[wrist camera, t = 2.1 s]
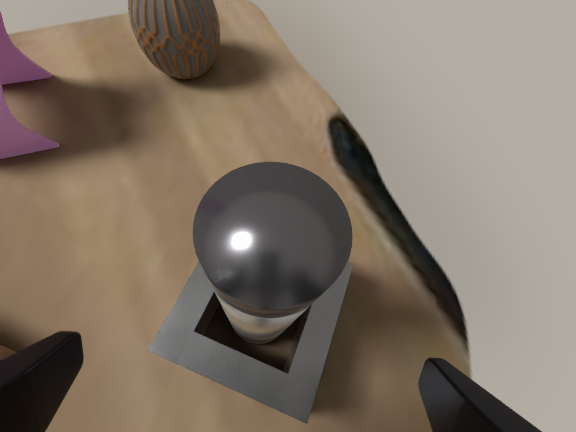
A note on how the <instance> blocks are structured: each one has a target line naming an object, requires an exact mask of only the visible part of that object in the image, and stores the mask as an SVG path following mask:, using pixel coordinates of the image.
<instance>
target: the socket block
mask: <svg viewBox="0 0 576 432" xmlns="http://www.w3.org/2000/svg"><path fill="white" fill-rule="evenodd" d="M352 268H353V264H351V263H348V262H347V264H346V266H345V268H344V270H343V271H342V273H341V275H340V276H339V277H338V279H337V280H336V281H335V282H334V283H333V284H332V285H331V286H330V287H329V288H328V289H327V290H326V291H325V292H324V293H323V294H322V295H321V296H320V297H319V298H318V299H317V300H316V301H315V302H314V303H313V304H311V305H310V306H309V307H308V308H307V309H306V310H305V311H304V312H303V314H302V317H301V320H300V323H299V326H298V328H297V331H296V334H295V337H294V340H293V343H292V345H291V348H290V351H289V354H288V357H287V360H286V363H285V365H284V368H283V371H280V370H278V369H276V368H274V367H271V366H269V365H267V364H265V363H263V362H260V361H258V360H256V359H254V358H251V357H249V356H247V355H245V354H243V353H240V352H238V351H236V350H234V349H231V348H229V347H227V346H225V345H222V344H220V343H218V342H216V341H214V340H211V339H209V338H207V337H205V336H203V335H204V333H205V331H206V329H207V327H208V325H209V323H210V321H211V319H212V317H213V315H214V313H215V311H216V309H217V307H218V305H219V303H220V301H219V299H218V297H217V296H216V294H215V292H214V290H213V288H212V286H211V284H210V282H209V280H208V278H207V276H206V274H205V272H204V270H203V268H202V266H201V264H200V262H198V264H197V266H196V268H195V269H194V271H193V273H192V274H191V276H190V278H189V280H188V281H187V283H186V285H185V287H184V288H183V290H182V292H181V294H180V295H179V297H178V299H177V300H176V302H175V304H174V306H173V307H172V309H171V311H170V313H169V314H168V316H167V318H166V320H165V321H164V323H163V325H162V327H161V328H160V330H159V332H158V333H157V335H156V337H155V339H154V340H153V342H152V344H151V346H150V347H149V349H148V351H150V352H152V353H154V354H156V355H159V356H161V357H163V358H165V359H167V360H170V361H172V362H174V363H176V364H178V365H180V366H183V367H185V368H187V369H189V370H191V371H193V372H196V373H198V374H200V375H202V376H204V377H206V378H209V379H211V380H213V381H215V382H217V383H220V384H222V385H224V386H226V387H228V388H230V389H233V390H235V391H237V392H239V393H241V394H243V395H246V396H248V397H250V398H252V399H254V400H256V401H259V402H261V403H263V404H265V405H267V406H270V407H272V408H274V409H276V410H278V411H280V412H283V413H285V414H287V415H289V416H291V417H293V418H296V419H298V420H300V421H302V422H304V423H306V424H307V422H308V419H309V416H310V412H311V409H312V405H313V402H314V398H315V395H316V391H317V388H318V385H319V381H320V378H321V374H322V371H323V367H324V364H325V360H326V357H327V354H328V350H329V347H330V343H331V340H332V336H333V333H334V329H335V326H336V323H337V319H338V316H339V312H340V309H341V305H342V302H343V299H344V295H345V292H346V288H347V285H348V281H349V278H350V274H351V271H352Z"/></svg>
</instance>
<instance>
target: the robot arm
mask: <svg viewBox="0 0 576 432" xmlns="http://www.w3.org/2000/svg"><path fill="white" fill-rule="evenodd" d="M82 364H83V348H82V340H81V335H80V334H79V333H78V332H73V331H59V332H57V333H55V334H53V335H51V336H49V337H47V338H45V339H43V340H41V341H39V342H37V343H35V344H33V345H31V346H29V347H26V348H24V349H22V350H20V351H18V352H16V353H14V354H12V355H10V356H8V357H6V358H4V359H2V360H0V432H45V431H46V429H47V428H48V426H49V424H50V423H51V421H52V419H53V417H54V415H55V414H56V412H57V410H58V408H59V406H60V405H61V403H62V401H63V399H64V398H65V396H66V394H67V392H68V390H69V389H70V387H71V385H72V383H73V381H74V380H75V378H76V376H77V374H78V373H79V371H80V369H81V367H82ZM418 384H419V391H420V394H421V397H422V400H423V403H424V406H425V409H426V413H427V416H428V419H429V422H430V425H431V428H432V431H433V432H542V431H540V430H539V429H537V428H536V427H535V426H533V425H532V424H531V423H529V422H528V421H527V420H525V419H524V418H523V417H521V416H520V415H519V414H517V413H516V412H515V411H513V410H512V409H510V408H509V407H508V406H506V405H505V404H504V403H502V402H501V401H500V400H498V399H497V398H496V397H494V396H493V395H492V394H490V393H489V392H487V391H486V390H485V389H483V388H482V387H481V386H479V385H478V384H477V383H475V382H474V381H473V380H471V379H470V378H469V377H467V376H466V375H465V374H463V373H462V372H461V371H459V370H458V369H457V368H455V367H454V366H452V365H451V364H450V363H448V362H447V361H446V360H444V359H441V358H428V359H427V360H426V361H425V363H424V366H423V369H422V372H421V375H420V378H419V383H418Z"/></svg>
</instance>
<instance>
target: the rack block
mask: <svg viewBox="0 0 576 432" xmlns="http://www.w3.org/2000/svg"><path fill="white" fill-rule="evenodd" d="M14 353H16V352H15V351H13V350H11V349H8V348H6V347H4V346H2V345H0V360H2V359H4V358H6V357H8V356H10V355H12V354H14Z"/></svg>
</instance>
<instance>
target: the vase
mask: <svg viewBox="0 0 576 432" xmlns="http://www.w3.org/2000/svg"><path fill="white" fill-rule="evenodd" d="M128 7H129V8H128V9H129V17H130V22H131V26H132V29H133V32H134V35H135V37H136V39H137V42H138V44H139V46H140V48H141V49H142V51H143V52H144V54H145V55H146V57H147V58H148V59H149V60H150V62H151V63H152V64H153V65H154V66H155V67H157V68H158V69H159V70H161V71H162V72H164V73H166V74H168V75H170V76H172V77H175V78H178V79H193V78H196V77H199V76H201V75H202V74H204V73H205V72H206V71H207V70H208V69H209V68H210V67H211V66H212V65H213V63H214V62H215V60H216V57H217V54H218V50H219V44H220V26H219V19H218V14H217V11H216V8H215V5H214V2H213V0H128Z"/></svg>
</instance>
